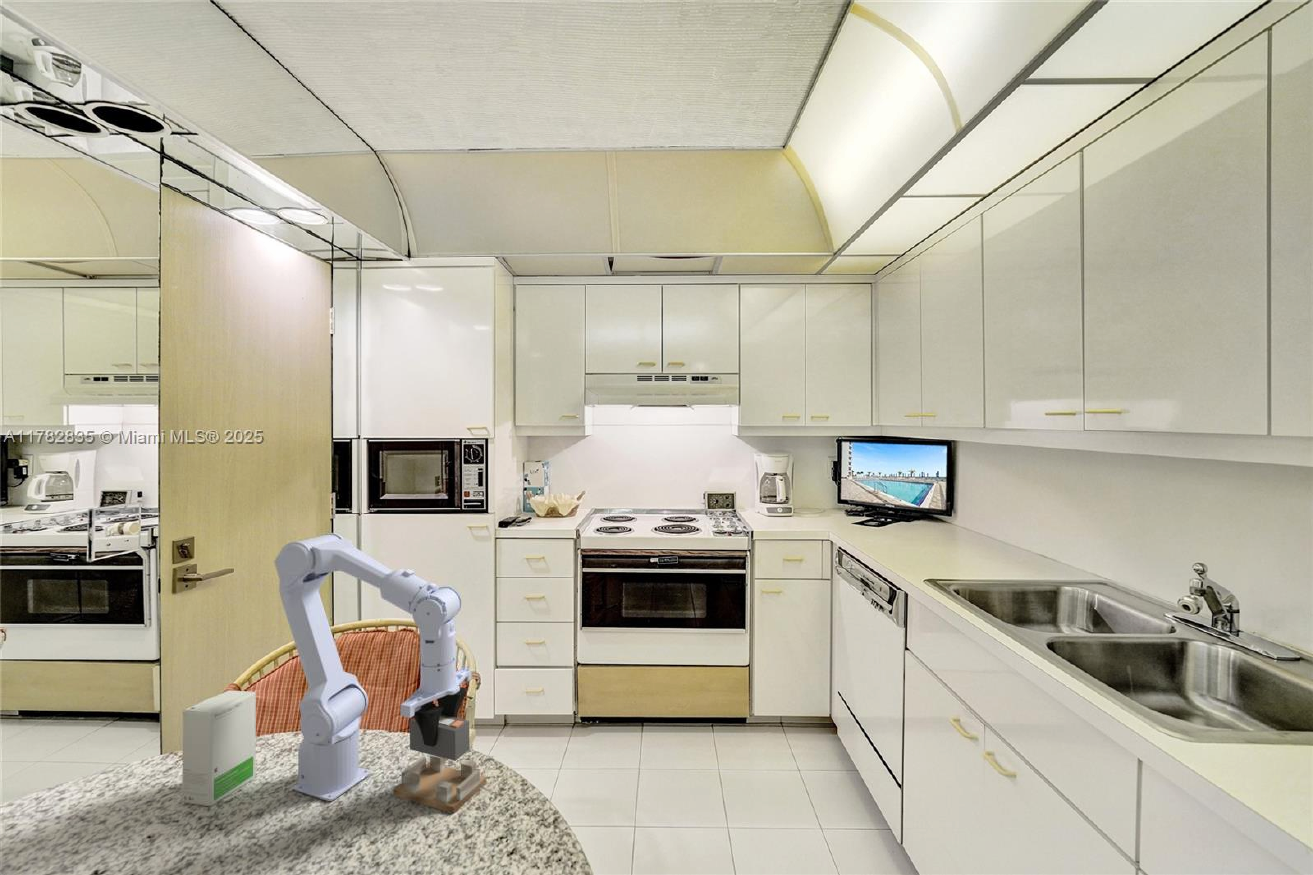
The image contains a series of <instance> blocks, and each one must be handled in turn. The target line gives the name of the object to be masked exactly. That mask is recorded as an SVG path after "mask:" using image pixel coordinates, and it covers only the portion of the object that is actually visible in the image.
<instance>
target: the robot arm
mask: <svg viewBox="0 0 1313 875" xmlns="http://www.w3.org/2000/svg"><path fill="white" fill-rule="evenodd" d="M353 544H354V543H353V542H352V540H351V539H348V538H345V537H344V536H342V535H340V534H339V533H335V532H329V533H325V534H323V535H320V536H316V537H311V538H307V539H303V540H299V541H298V540H296V541H291V542H288V543H287V544H285V545H284V546H283V547H282V548H281V550H280V551H279V553H278V555H277V556H276V558H275V559H274V562H273V563H274V566H275V569H276V572H277V576H278V579H279V586H278V588H279V589H278V592H279V596H280V599H281V602H282V606H283V609H284V611H285V615H286V618H287V621H288V625H289V629H290V631H291V634H292V637H293V642H294V644H295V645H294V646H295V648H296V651H297V653H298V657H299V660H300V663H301V667H302V669H303V673H304V675H305V680H306V683H307V686H308V688H307V690H306V691H305V694H304V695H303V697H302V699H301V701H300V703H299V706H298V708H299V712H300V725H299V726H300V727H299V728H300V731H301V735H302V736H303V739H301V742H300V744H299V747H298V751H297V757H298V758H297V765H298V768H297V770H298V771H297V772H298V773H297V778H298V779H297V780H298V781H297V784H294V786H293V789H292V790H294V791H297V792H300V793H303V794H306V795H307V796H308V795H309V796H311V797H315V798H317V799H321V800H324V801H327V802H332V801H334V800H335V799H337V798H338V797H340V796H341V795H342V794H344V793H346V792H347V791H348V790H350V789H351V788H352V787H354V786H356V785H357V784H359V783H360V782H361V781H363V780H364V779H366V778H368V777H369V776H370V775H371V774H372V772H371V770H369V769H366V768H362V767H360V723H361V722H362V715H364V714H365V712H366V711H367V708H368V706H369V698H368V694H367V692H366V691H365V689H364V688H363V687H362V686H361V685H360V683H359V680H358V678H357V676H356V675H355V674H352V673H349V672H346V671H345V670H344V667H343V665H342V661H341V659H340V655H339V651H338V649H337V648H338V647H337V645H336V642H335V639H334V636H333V632H332V630H331V627H330V623H329V620H328V617H327V614H326V611H325V608H324V604H323V601H322V598H321V595H320V592H319V591H320V588H321V587H322V585H323V583H324V582H325V580H326V578H327V577H328V576H330V574H331V573H332V572H337V571H338V572H343V573H345V574H347V575H349V576H351V577H354V578H355V579H358V580H361V581H362V582H365V583H366V584H369V585H371V586H373V587H376V588H377V589H379V592H380V596H381V599H382V600H384V601H386V602H388V603H389V604H392V605H393V606H395V607H397V608H398V609H401V610H403V611H405V612H407V613H408V614H409V615H412V619H413V622H414V624H415V625H416V626H417V628H418V632H419V633H418V634H419V638H420V646H419V648H420V686H419V687H418V689H417V690H416V691H414V692H413V694H412V695H410V697H409V698H407V699H406V700H405V701H404V702H401V703H400V717H404V718H408V719H411V718H414V719H415V720H416V722H417V724H418V726H419V728H420V731H421V734H422V737H423V741H424V745H428V746H432V747H434V746H435V745H436V743H437V738H438V724H439V719H440V715H445V716H450V717H455V718H458V713H459V710H460V708H461V705H462V703H463V701H464V699H465V697H466V695H467V688H465V687H461V684H462V683H464V682H469V681H471V680H473V679H472V668H467V667H461V668H460V669H458V670H457V644H456V642H457V640H456V639H457V636H456V635H457V631H456V630H457V628H456V627H457V626H456V619H457V618H456V617H455V616H457V615H458V614H459V612H461V608H462V598H461V596H460V594H459V593H458V591H457V590H455V589H454V588H453V587H452V586H449V585H443V586H438V585H437V584H436V583H434V582H431V583H430V582H429V581H426V580H425V579H422V578H421V577H419V576H417V575H415V571H414V570H412V569H410V568H407V569H403V568H399V569H397V570H395V571H394V570H391V569H390V568H389V567H386V566H385V565H384V564H382V563H380V562H379V561H377V560H376V559H374V558H373V557H371V556H369V555H368V554H366V553H365V552H363V551H362V550H360V549H358V548H357V547H356V546H354V545H353ZM434 701H437V705H438V706H436V703H435V702H434Z"/></svg>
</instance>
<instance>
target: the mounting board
mask: <svg viewBox="0 0 1313 875" xmlns="http://www.w3.org/2000/svg"><path fill="white" fill-rule="evenodd" d="M486 783H487V777H486V776H483V775H481V774H480V770H477V762H476V761H472V760H469V759H465V760H463V761H462V762H460V769H456V768H452V767H449V766H446V758H442V757H438V756H434V755H430V754H429V762H427V757H426V756H422V757H420V758H419V759H418V760H416V761H415V762H413V763H412V764H411V765H410V766H408V767H407V768H406V769H404V770H402V771H401V783H400V784H399V785H397V786H396V787H395V788H394V789H393V796H394V797H398V798H401V799H404V800H407V801H411V802H414V803H418V804H422V805H424V806H428V807H431V808H435V809H437V810H441V811H444V812H448V813H451V814H455V813H456V812H457V811H459V809H461V807H462V806H464V805H465V804H466V803H467V802H468V801H469V800H470V799H471V798H472V797H473V796H474V795H475V794H476V793H477V792H479V790H481V788H483V787H484V785H486Z"/></svg>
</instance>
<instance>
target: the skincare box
mask: <svg viewBox="0 0 1313 875" xmlns="http://www.w3.org/2000/svg"><path fill="white" fill-rule="evenodd" d="M256 694H257V692H255V691H244V690H227V691H225V692H223V693H220V694H218V695H215V696H213V697H210V698H207V699H204V700H202V701H201V702H198V703H196V704H195V705H192V706H190V707H188V708H185V709H183V710H182V782H181V783H182V784H181V785H182V789H181V802H182V803H185V804H191V805H198V806H204V807H212V806H214V805H215V804H217V803H218V802H219V801H222V800H223V799H225V798H226V797H227V796H230V795H231V794H232V793H234V792H235V791H237V790H239V789H240V788H242V787H243V786H245V785H247V784H248V783H249V782H251V781H253V780H254V779H256V776H257V774H256V770H257V769H256V765H257V764H256V758H257V756H256V732H257V731H256V730H257V729H256V728H257V727H256V724H257V723H256V718H257V717H256V716H257V715H256V714H257V713H256V712H257V710H256V709H257V706H256V705H257V695H256Z"/></svg>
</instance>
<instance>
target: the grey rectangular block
mask: <svg viewBox="0 0 1313 875" xmlns="http://www.w3.org/2000/svg"><path fill="white" fill-rule="evenodd" d="M409 750H412V751H415V752H419V753H423V754H426V755H429V756H430V755H434V756H438V757H442V758H445V760H451V761H454V762H456V761H458V760H459V759H460V758H461V757H462V756H463V755H464V754H466V753H467V752H469V751H470V720H467V719H463V718H459V717H457V718H455V717H450V716H445V715H440V719H439V724H438V738H437V743H436V745H435V746H434V747H432V746H428V745H424V741H423V737H422V734H421V731H420V728H419V726H418V724H417V722H416V720H415V719H414V717H412V719H411V718H410V720H409Z"/></svg>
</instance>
